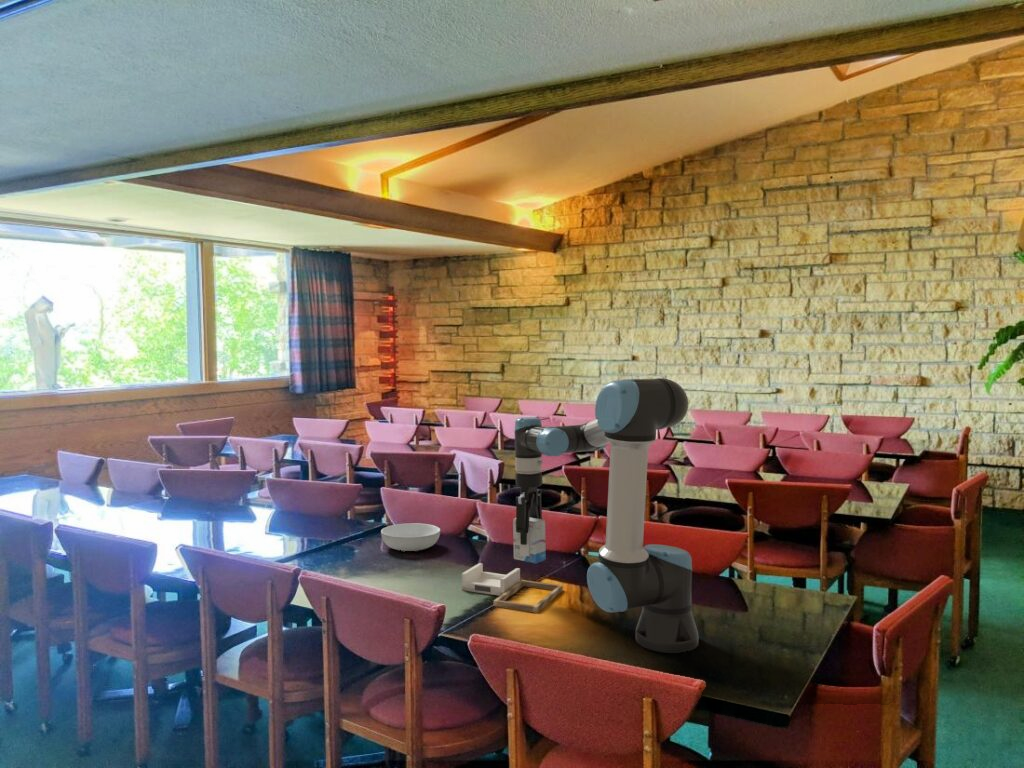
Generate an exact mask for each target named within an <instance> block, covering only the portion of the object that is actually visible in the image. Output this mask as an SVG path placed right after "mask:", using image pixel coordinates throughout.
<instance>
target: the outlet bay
mask: <svg viewBox="0 0 1024 768" xmlns="http://www.w3.org/2000/svg"><path fill="white" fill-rule="evenodd" d="M483 564H484V563H481V562H479V563H477V564H475V565H473V566H472V567H470V568H469V569H467V570H465V571H464V572H462V573H461V591H465V592H473V593H479V594H485V595H490V596H491V595H493V596H497V597H499V596H501V595H502V594H503V593H505V592H506V591H508V590H509V589H510V588H512V587H513V586H514V585H516V584H517V583H519V582H520V581H521V568H518V567H516V568H514V569H513V570H511V571H509V572H508V573H507V574H504V573H503V574H502V573H496V572H488V571H483V570H484V569H483V567H484V565H483Z"/></svg>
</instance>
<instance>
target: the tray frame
mask: <svg viewBox="0 0 1024 768" xmlns="http://www.w3.org/2000/svg"><path fill="white" fill-rule="evenodd" d="M524 587H528V588H534V589H542V590H547V591H548V590H549V591H550V592H549V593H548V594H547V595H545V596H544V598H542V599H541V600H539V602H537V603H536V604H535V605H531V604H527V603H519V602H514V601H513V602H512V601H508V599H510V597H511V596H513V595H514V594H516V593H517V592H518V591H519V590H521V589H523V588H524ZM563 590H564V589H563V585H562V584H555V583H554V584H553V583H547V582H542V581H541V582H539V581H534V580H533V581H532V580H527V579H520V582H519V583H517V584H516V585H514V586H513V587H512V588H510V589H509V590H508V591H506V592H505V593H503V594H502V595H501V596H497V597H496V598H495V599H494V600H493V601H492V602H493V603H492V604H493V607H498V608H503V609H511V610H517V611H522V612H531V613H536V614H537V613H538V612H539V611H540V610H542V609H543V608H544V607H545V606H547V604H549V603H550V602H551V601H552V600H554V598H556V597H557V596H558V595H559V594H561V592H563Z"/></svg>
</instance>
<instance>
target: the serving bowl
mask: <svg viewBox="0 0 1024 768" xmlns="http://www.w3.org/2000/svg"><path fill="white" fill-rule="evenodd" d="M380 535H381V538H382V541H383V543H384V544H385V545H386V546H387V547H389V548H391V549H393V550H397V551H400V550H401V552H405V551H415V552H419V550H420V551H422V550H426V549H429V548H430V547H433V546H434V545H435V544H436V543H437V542H438V540H439V538H440V535H441V528H440V527H438V526H436V525H434V524H429V523H420V522H419V523H418V522H416V523H415V522H414V523H413V522H412V523H411V522H410V523H399V524H392V525H389V526H386V527H383V528H382V529H381V530H380Z"/></svg>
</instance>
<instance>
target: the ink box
mask: <svg viewBox="0 0 1024 768" xmlns="http://www.w3.org/2000/svg"><path fill="white" fill-rule="evenodd" d="M512 526H513V529H512V531H513V538H512V539H513V559H514V560H518V561H523V562H527V563H531V564H535V565H536V564H538V563H540V562H543V561H546V559H547V556H546V555H547V554H546V551H547V550H546V549H547V548H546V519H543V518H542V519H538V518H532V517H530V519H529V528H528V533H530V556H522V555H520V533H517V532H516V517H515V518H513V519H512Z"/></svg>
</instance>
